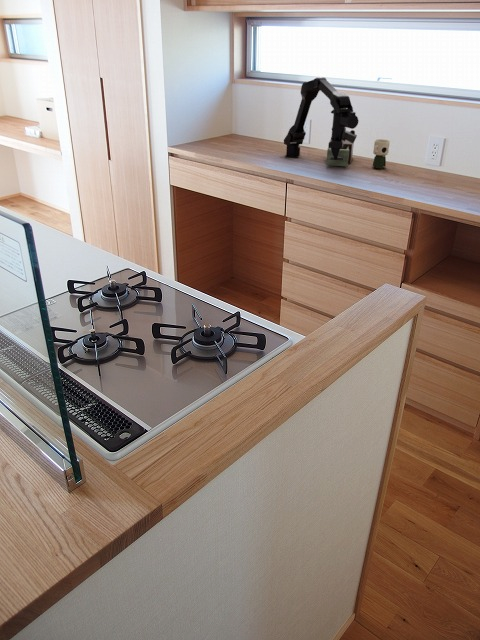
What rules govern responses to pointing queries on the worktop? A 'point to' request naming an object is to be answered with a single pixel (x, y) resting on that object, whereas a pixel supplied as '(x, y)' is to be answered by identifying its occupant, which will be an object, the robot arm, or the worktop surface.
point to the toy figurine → (380, 153)
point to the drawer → (341, 159)
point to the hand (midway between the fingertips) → (335, 159)
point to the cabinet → (349, 149)
